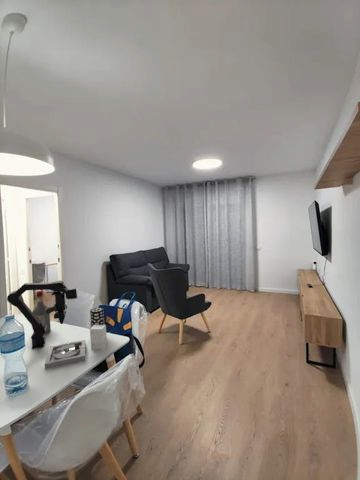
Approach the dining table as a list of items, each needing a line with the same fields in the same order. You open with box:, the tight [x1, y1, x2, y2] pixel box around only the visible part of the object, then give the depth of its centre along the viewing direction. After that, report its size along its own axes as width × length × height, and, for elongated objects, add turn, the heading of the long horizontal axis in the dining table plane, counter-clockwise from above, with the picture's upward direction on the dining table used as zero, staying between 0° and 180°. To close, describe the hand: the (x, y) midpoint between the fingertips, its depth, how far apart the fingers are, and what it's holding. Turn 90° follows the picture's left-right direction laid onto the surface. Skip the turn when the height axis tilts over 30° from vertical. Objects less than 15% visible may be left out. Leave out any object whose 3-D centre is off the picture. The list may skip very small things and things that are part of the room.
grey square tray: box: [44, 339, 87, 370], centre depth 140 cm, size 20×20×3 cm
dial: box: [53, 343, 80, 360], centre depth 140 cm, size 14×14×4 cm
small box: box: [89, 324, 108, 351], centre depth 149 cm, size 8×6×13 cm
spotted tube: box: [89, 307, 105, 328], centre depth 159 cm, size 8×8×20 cm
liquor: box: [32, 290, 52, 336], centre depth 171 cm, size 9×9×30 cm
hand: (61, 323), depth 157 cm, fingers closed
